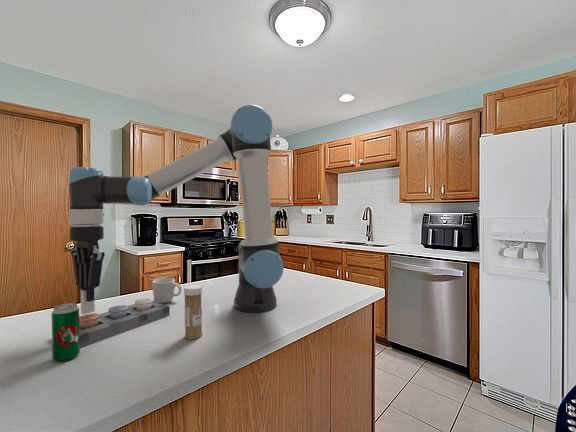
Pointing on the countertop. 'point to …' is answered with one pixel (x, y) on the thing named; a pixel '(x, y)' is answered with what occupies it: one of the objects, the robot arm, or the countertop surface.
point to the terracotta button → (88, 320)
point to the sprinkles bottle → (193, 311)
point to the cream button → (143, 304)
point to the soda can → (65, 332)
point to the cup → (165, 290)
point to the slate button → (118, 311)
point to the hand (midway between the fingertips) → (87, 312)
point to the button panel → (122, 323)
